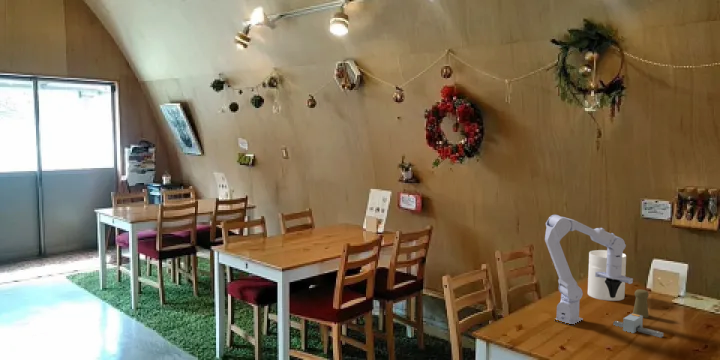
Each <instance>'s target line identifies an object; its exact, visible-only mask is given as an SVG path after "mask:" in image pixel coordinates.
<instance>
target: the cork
mask: <svg viewBox="0 0 720 360" xmlns="http://www.w3.org/2000/svg"><path fill="white" fill-rule="evenodd" d="M634 297H635V301H634V304H633V305H634V306H633V309H632V311H633V312H632V313H634V314H638V315H643V319H647V318H649V317H650V316H649V308H648V298H649V292H648V290H645V289H639V288H638V289H636V290H635V291H634Z"/></svg>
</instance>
